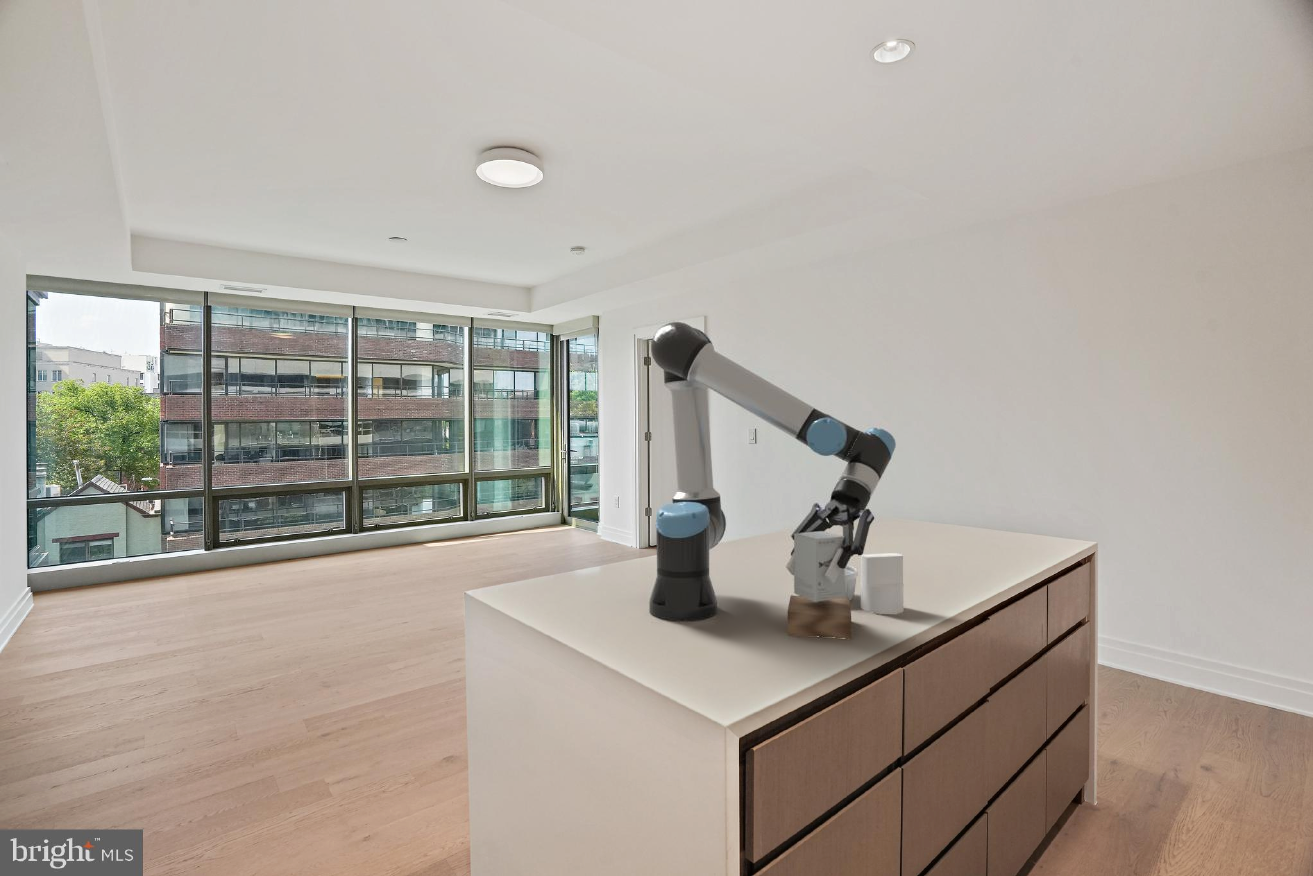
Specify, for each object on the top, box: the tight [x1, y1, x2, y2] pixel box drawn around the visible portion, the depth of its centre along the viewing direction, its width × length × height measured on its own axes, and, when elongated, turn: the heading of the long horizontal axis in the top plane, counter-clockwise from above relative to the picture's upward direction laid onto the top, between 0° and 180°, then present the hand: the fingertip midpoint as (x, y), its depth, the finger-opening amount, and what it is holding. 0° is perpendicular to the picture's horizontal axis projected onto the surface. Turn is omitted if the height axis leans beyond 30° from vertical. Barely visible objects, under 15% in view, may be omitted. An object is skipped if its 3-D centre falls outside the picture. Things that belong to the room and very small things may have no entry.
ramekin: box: [844, 564, 859, 601], centre depth 153 cm, size 13×13×7 cm
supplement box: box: [793, 531, 845, 602], centre depth 130 cm, size 7×7×13 cm
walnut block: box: [786, 594, 852, 640], centre depth 131 cm, size 12×12×5 cm
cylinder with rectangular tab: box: [860, 552, 904, 615], centre depth 143 cm, size 9×9×12 cm
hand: (809, 575), depth 128 cm, fingers closed on supplement box, 9 cm apart
